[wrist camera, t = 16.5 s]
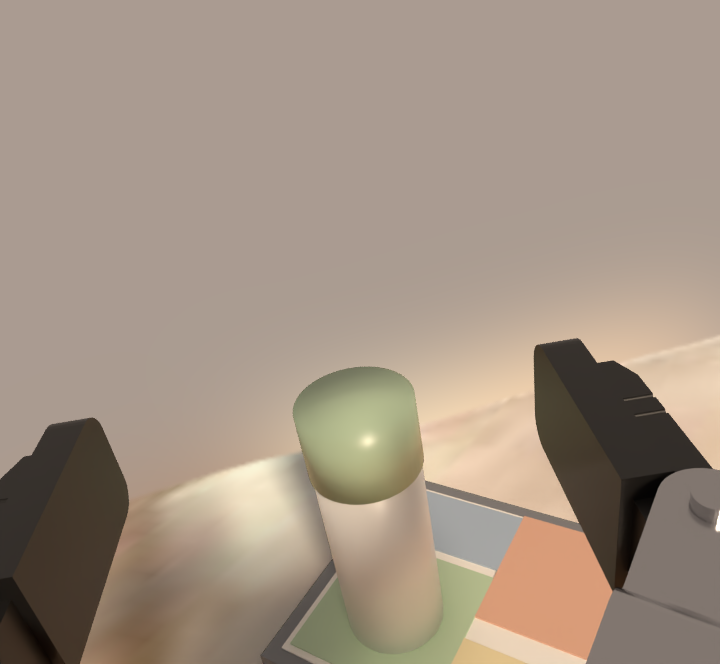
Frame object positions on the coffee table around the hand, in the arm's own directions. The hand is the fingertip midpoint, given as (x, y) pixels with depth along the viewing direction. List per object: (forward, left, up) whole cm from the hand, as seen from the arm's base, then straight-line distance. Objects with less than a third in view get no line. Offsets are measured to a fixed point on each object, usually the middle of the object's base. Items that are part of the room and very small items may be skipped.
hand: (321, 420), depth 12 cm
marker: (-6, +9, -19) cm, 22 cm away
